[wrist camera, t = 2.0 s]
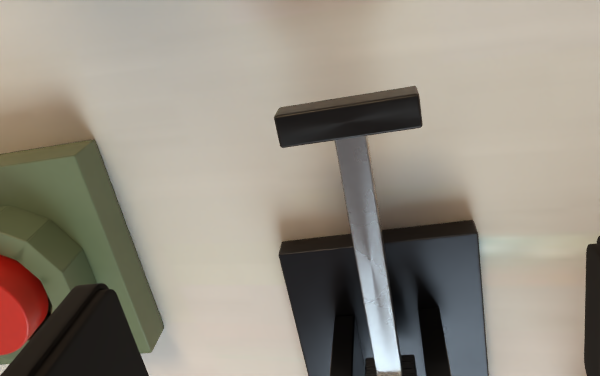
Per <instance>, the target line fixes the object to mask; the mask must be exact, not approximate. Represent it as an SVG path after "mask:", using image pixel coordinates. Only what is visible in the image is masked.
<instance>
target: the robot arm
mask: <svg viewBox="0 0 600 376" xmlns="http://www.w3.org/2000/svg"><path fill="white" fill-rule="evenodd" d="M584 363H585V369H586V373H587V376H600V236H599V237H598V239H597V244H589V245H588V247H587V252H586V298H585V345H584ZM1 376H149V375H148V373H147V370H146V367H145V365H144V362H143V360H142V357H141V355H140V352H139V350H138V347H137V344H136V342H135V339H134V337H133V334H132V332H131V329H130V327H129V324H128V321H127V319H126V316H125V314H124V311H123V309H122V306H121V304H120V301H119V298H118V296H117V294H116V292H115V291H114V290H112V289H109V288H108V286H107V285H106V284H103V283H97V284H86V285H78V286H75V287H74V288H73V289H72V290H71V291H70V292H69V294H68V295H67V296H66V297H65V298H64V300H63V301H62V302H61V303H60V304H59V306H58V307H57V308H56V309H55V310H54V312H53V313H52V314H51V315H50V316H49V318H48V319H47V320H46V321H45V322H44V324H43V325H42V326H41V327H40V329H39V330H38V331H37V332H36V333H35V335H34V336H33V337H32V338H31V339H30V341H29V342H28V343H27V344H26V345H25V347H24V348H23V349H22V350H21V351H20V353H19V354H18V355H17V356H16V357H15V359H14V360H13V361H12V362H11V363H10V365H9V366H8V367H7V368H6V370H5V371H4V372H3V373H2V374H1Z"/></svg>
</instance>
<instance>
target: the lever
mask: <svg viewBox="0 0 600 376" xmlns="http://www.w3.org/2000/svg"><path fill="white" fill-rule="evenodd" d="M274 120H275V124H276V129H277V134H278V138H279V143H280V146H281V147H282V148H285V147H291V146H298V145H305V144H312V143H319V142H326V141H333V140H335V145H336V150H337V156H338V162H339V167H340V173H341V179H342V184H343V190H344V196H345V201H346V207H347V212H348V218H349V224H350V229H351V235H352V241H353V246H354V252H355V258H356V263H357V269H358V275H359V280H360V286H361V291H362V297H363V303H364V308H365V314H366V320H367V325H368V331H369V337H370V342H371V348H372V353H373V357H370V358H366V359H365V376H417V370H416V363H415V356H414V355H413V354H412V355H401V352H400V346H399V339H398V333H397V326H396V319H395V313H394V306H393V300H392V293H391V287H390V280H389V274H388V267H387V261H386V254H385V248H384V241H383V235H382V228H381V222H380V215H379V209H378V202H377V196H376V189H375V183H374V176H373V170H372V163H371V157H370V150H369V143H368V137H367V135H374V134H381V133H387V132H394V131H401V130H408V129H415V128H420V127H422V116H421V107H420V99H419V93H418V90H417V88H416V87H415V86H412V87H405V88H399V89H393V90H387V91H380V92H374V93H368V94H362V95H355V96H349V97H343V98H336V99H330V100H324V101H318V102H311V103H305V104H299V105H293V106H286V107H281V108H279V109H278V111H277V113H276V115H275V117H274Z"/></svg>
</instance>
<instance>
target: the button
mask: <svg viewBox="0 0 600 376" xmlns="http://www.w3.org/2000/svg"><path fill="white" fill-rule="evenodd" d="M48 305H49V303H48V296H47V293H46V291H45V289H44V287H43V284H42V283H41V281H40V280H39V279H38V278H37V277H36V276H34V275H33V274H32V273H31V272H30V271H29V270H27V269H26V268H25V267H24V266H23V265H22V264H20V263H19V262H18V261H17V260H14V259H12V258H9V257H6V256H3V255H0V355H6V354H10V353H12V352H15V351H17V350H18V349H20V348H21V347H22V346H23V345H24V344H25V343H26V342H27V340H28V339H29V338H30V337H31V335H32V334H33V333H34V332H35V331H36V329H37V328H38V327H39V326H40V324H41V323H42V322H43V320H44V319H45V317H46V315H47V312H48Z"/></svg>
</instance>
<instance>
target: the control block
mask: <svg viewBox="0 0 600 376" xmlns="http://www.w3.org/2000/svg"><path fill="white" fill-rule="evenodd" d="M0 255H3V256H6V257H9V258H12V259H14V260H17V261H18V262H19V263H20V264H22V265H23V266H24V267H25V268H26V269H27V270H29V271H30V272H31V273H32V274H33V275H34V276H36V277H37V278H38V279H39V280H40V281H41V283H42V284H43V287H44V289H45V291H46V293H47V296H48V303H49V305H48V312H47V315H46V317H45V319H44V320H43V322H42V323H41V324H40V326H39V327H38V328H37V329H36V331H35V332H34V333H33V334H32V335H31V337H30V338H29V339H28V340H27V342H26V343H25V344H24V345H23V346H22V347H21V348H20V349H18V350H17V351H15V352H12V353H10V354H6V355H0V365H2V364H10V363H11V362H12V361H13V360H14V359H15V357H16V356H17V355H18V354H19V353H20V351H21V350H22V349H23V348H24V347H25V345H26V344H27V343H28V342H29V341H30V339H31V338H32V337H33V336H34V335H35V333H36V332H37V331H38V330H39V329H40V327H41V326H42V325H43V324H44V322H45V321H46V320H47V319H48V318H49V316H50V315H51V314H52V313H53V312H54V310H55V309H56V308H57V307H58V306H59V304H60V303H61V302H62V301H63V300H64V298H65V297H66V296H67V295H68V294H69V292H70V291H71V290H72V289H73V288H74V287H75V286H78V285H86V284H97V283H103V284H106V285H107V286H108V288H109V289H112V290H114V291H115V292H116V294H117V296H118V298H119V301H120V304H121V306H122V309H123V311H124V314H125V316H126V319H127V321H128V324H129V327H130V329H131V332H132V334H133V337H134V339H135V342H136V344H137V347H138V350H139V352H140V353H151V352H152V351H153V349H154V347H155V345H156V343H157V341H158V339H159V337H160V335H161V333H162V331H163V329H164V326H163V323H162V320H161V318H160V315H159V312H158V309H157V307H156V304H155V301H154V299H153V296H152V293H151V291H150V288H149V285H148V282H147V280H146V277H145V274H144V272H143V269H142V266H141V263H140V261H139V258H138V255H137V253H136V250H135V247H134V245H133V242H132V239H131V236H130V234H129V231H128V228H127V226H126V223H125V220H124V218H123V215H122V212H121V209H120V207H119V204H118V201H117V199H116V196H115V193H114V191H113V188H112V185H111V182H110V180H109V177H108V174H107V172H106V169H105V166H104V164H103V161H102V158H101V155H100V153H99V150H98V147H97V145H96V142H95V140H87V141H81V142H75V143H68V144H62V145H56V146H49V147H43V148H37V149H31V150H24V151H18V152H12V153H5V154H0Z"/></svg>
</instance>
